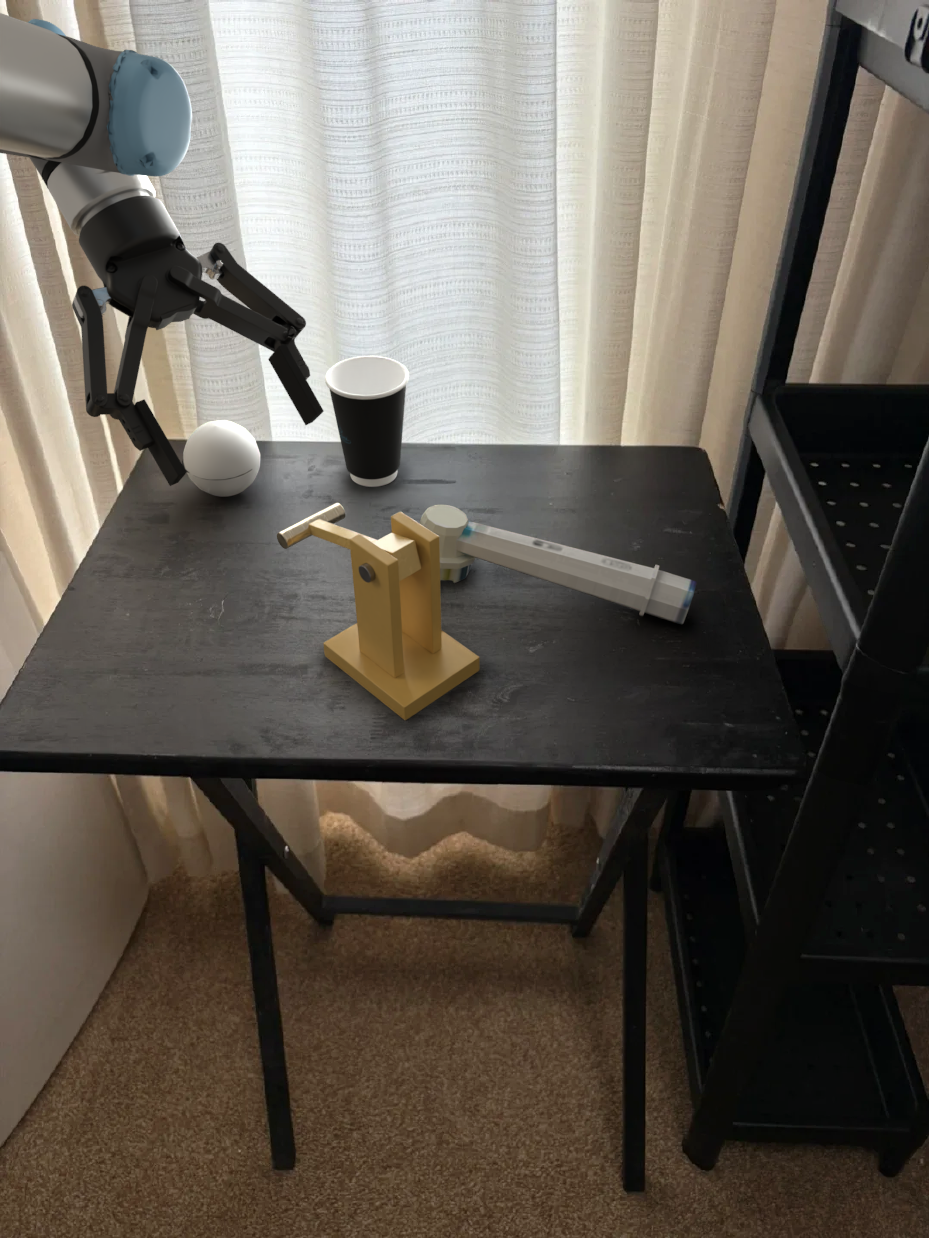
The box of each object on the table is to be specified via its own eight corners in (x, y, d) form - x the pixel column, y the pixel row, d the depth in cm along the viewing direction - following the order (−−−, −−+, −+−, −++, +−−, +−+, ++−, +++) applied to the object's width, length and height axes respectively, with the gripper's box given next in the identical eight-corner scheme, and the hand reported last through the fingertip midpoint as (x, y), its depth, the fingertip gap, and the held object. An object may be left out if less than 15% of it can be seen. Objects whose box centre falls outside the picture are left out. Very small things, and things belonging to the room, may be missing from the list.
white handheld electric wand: (691, 604, 84) (402, 513, 88) (669, 660, 89) (396, 572, 93) (701, 565, 88) (424, 479, 92) (679, 621, 93) (416, 538, 96)
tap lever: (280, 552, 85) (272, 525, 84) (338, 521, 88) (331, 495, 87) (379, 593, 76) (372, 564, 75) (440, 557, 79) (434, 529, 78)
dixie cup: (428, 468, 106) (426, 370, 99) (378, 505, 101) (372, 405, 94) (369, 443, 110) (362, 347, 102) (318, 478, 105) (307, 379, 98)
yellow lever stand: (324, 656, 86) (308, 530, 77) (398, 611, 90) (391, 487, 81) (405, 720, 80) (397, 593, 72) (479, 670, 84) (481, 544, 76)
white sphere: (206, 465, 107) (193, 402, 102) (275, 473, 106) (266, 409, 101) (166, 522, 99) (150, 457, 95) (240, 532, 98) (228, 466, 93)
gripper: (-27, 235, 76) (124, 493, 77) (259, 156, 88) (383, 379, 90) (-35, 283, 82) (105, 521, 84) (232, 203, 95) (349, 410, 97)
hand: (249, 448), depth 87 cm, fingers open, 13 cm apart
